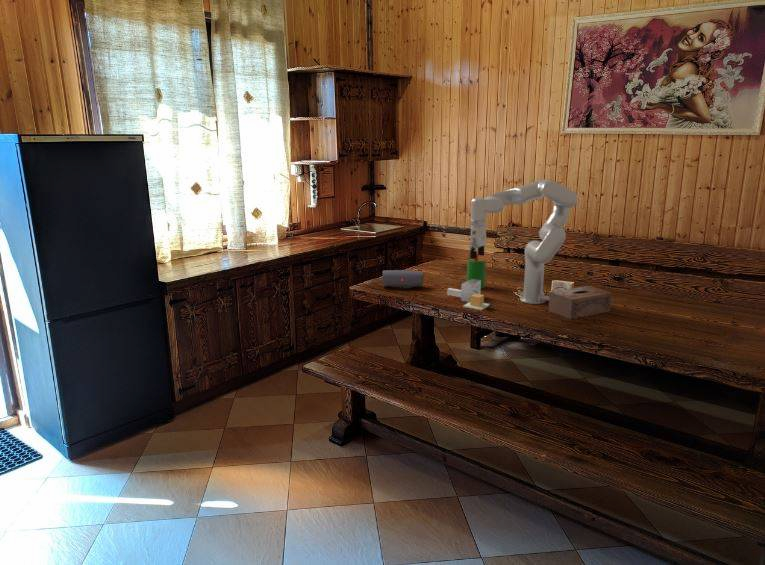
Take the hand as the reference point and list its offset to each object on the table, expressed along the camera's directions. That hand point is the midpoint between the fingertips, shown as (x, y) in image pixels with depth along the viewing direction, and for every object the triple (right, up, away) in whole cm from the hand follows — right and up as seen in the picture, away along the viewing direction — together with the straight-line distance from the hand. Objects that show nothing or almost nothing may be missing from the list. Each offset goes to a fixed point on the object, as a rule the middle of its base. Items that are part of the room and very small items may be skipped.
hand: (477, 257), depth 275 cm
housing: (-1, -21, +15) cm, 26 cm away
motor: (+5, -16, +37) cm, 40 cm away
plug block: (0, -24, +1) cm, 24 cm away
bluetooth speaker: (-36, -16, +36) cm, 54 cm away
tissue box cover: (+49, -27, -6) cm, 56 cm away
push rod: (-6, -21, +18) cm, 28 cm away
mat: (0, -25, +1) cm, 25 cm away
